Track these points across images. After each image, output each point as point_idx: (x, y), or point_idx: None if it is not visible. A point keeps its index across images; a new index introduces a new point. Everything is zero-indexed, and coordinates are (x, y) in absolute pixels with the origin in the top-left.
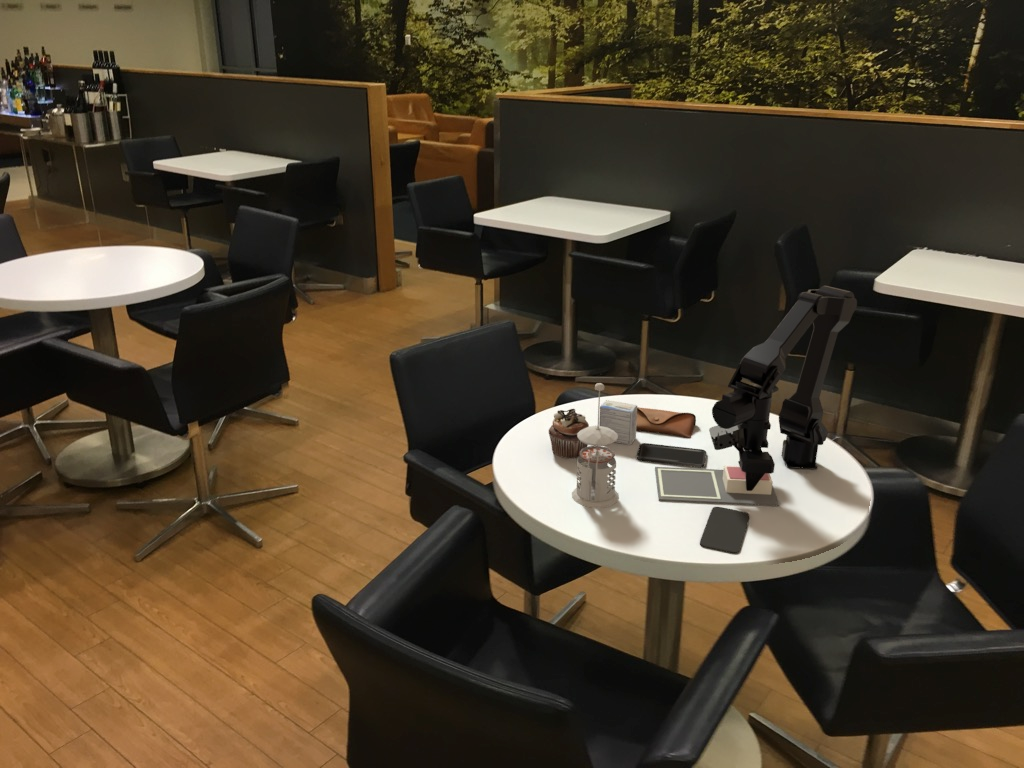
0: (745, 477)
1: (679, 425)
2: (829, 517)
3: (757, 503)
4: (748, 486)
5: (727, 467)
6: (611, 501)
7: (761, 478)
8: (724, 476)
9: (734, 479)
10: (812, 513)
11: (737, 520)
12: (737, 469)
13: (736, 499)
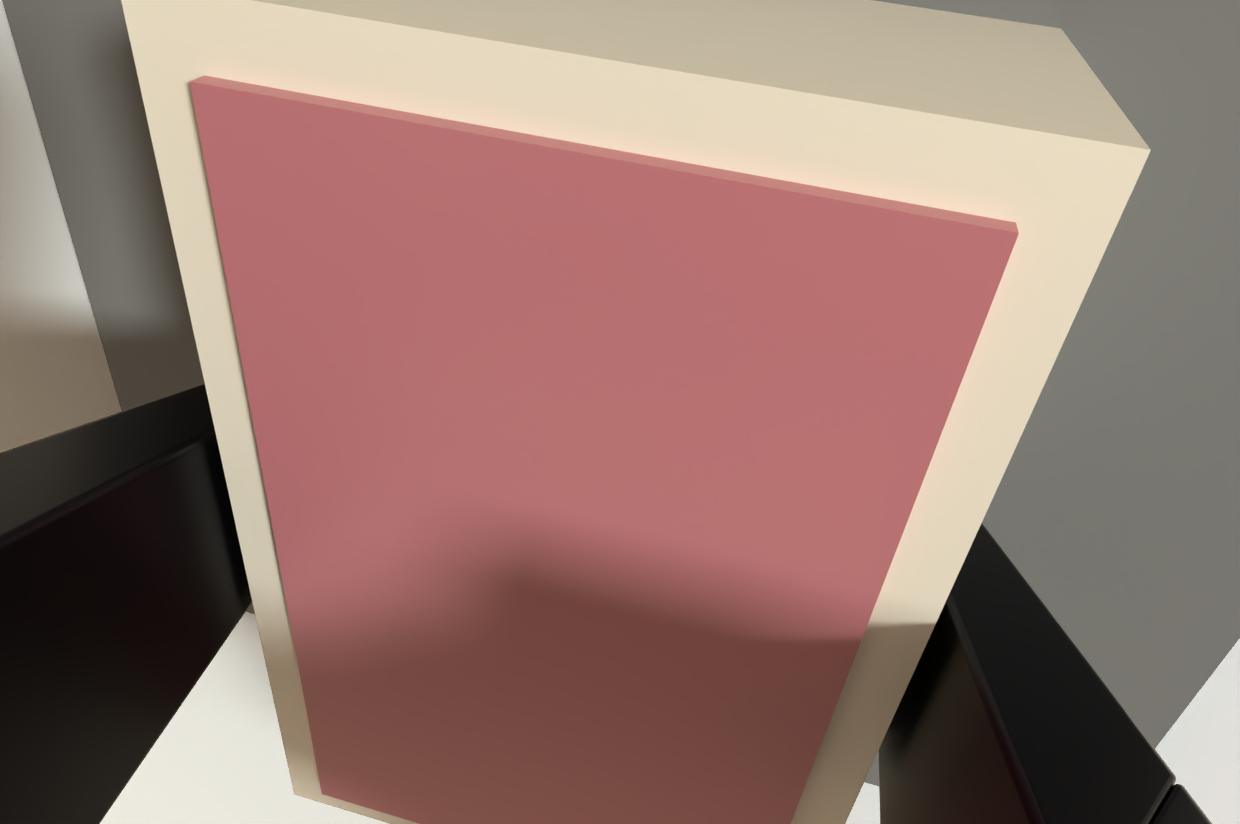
0: (66, 479)
1: None
2: (138, 812)
3: (112, 366)
4: None
5: (939, 239)
6: None
7: (338, 720)
8: (784, 29)
9: (195, 201)
10: (158, 751)
11: None
12: (754, 479)
13: (125, 69)
